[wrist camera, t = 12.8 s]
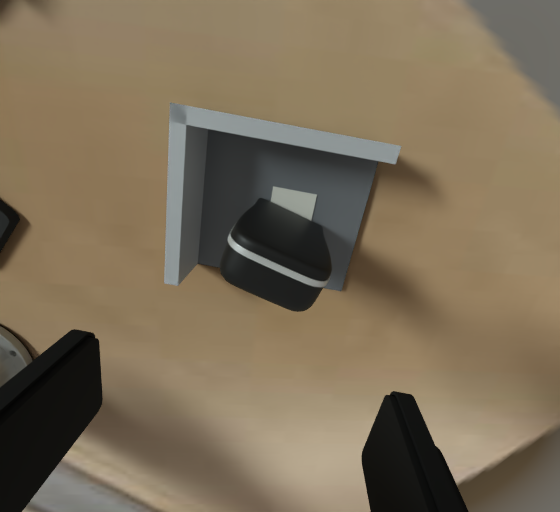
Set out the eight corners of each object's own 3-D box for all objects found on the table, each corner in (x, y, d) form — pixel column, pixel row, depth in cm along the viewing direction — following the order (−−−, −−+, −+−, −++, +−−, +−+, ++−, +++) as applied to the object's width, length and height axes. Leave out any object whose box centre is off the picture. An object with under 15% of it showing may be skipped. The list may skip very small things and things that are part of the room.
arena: (340, 288, 30) (347, 318, 25) (188, 258, 30) (164, 283, 25) (381, 145, 25) (401, 146, 20) (197, 110, 25) (169, 102, 20)
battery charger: (242, 230, 28) (203, 284, 17) (257, 194, 27) (226, 228, 16) (307, 260, 29) (309, 330, 18) (326, 226, 27) (339, 280, 17)
